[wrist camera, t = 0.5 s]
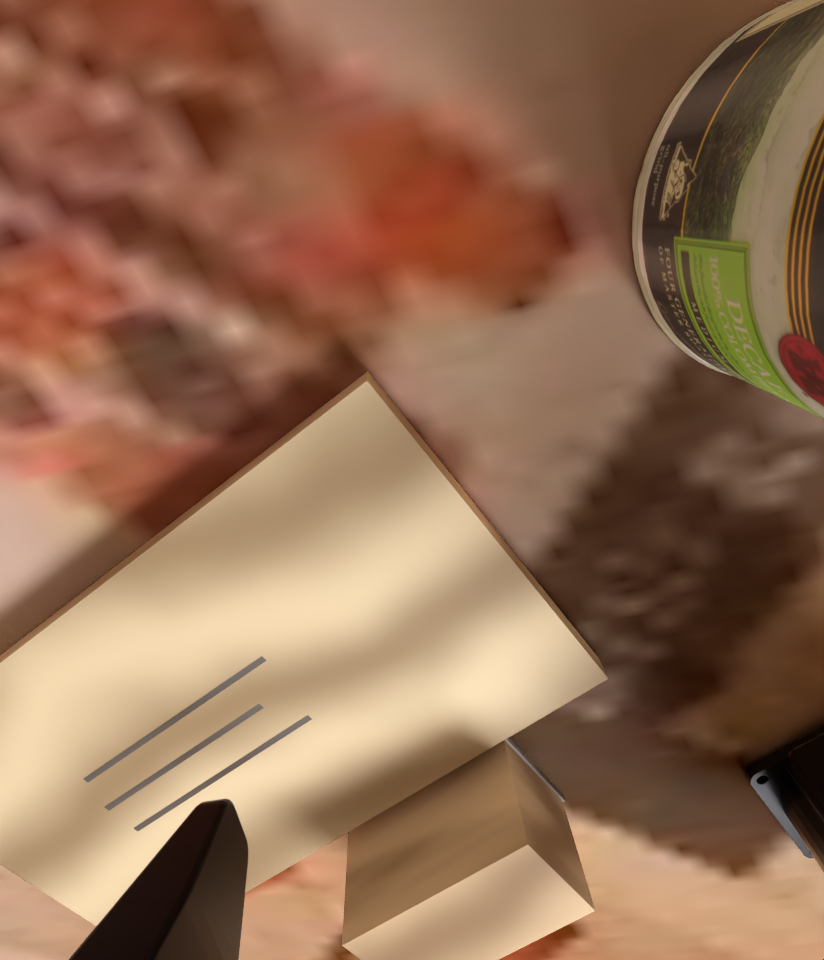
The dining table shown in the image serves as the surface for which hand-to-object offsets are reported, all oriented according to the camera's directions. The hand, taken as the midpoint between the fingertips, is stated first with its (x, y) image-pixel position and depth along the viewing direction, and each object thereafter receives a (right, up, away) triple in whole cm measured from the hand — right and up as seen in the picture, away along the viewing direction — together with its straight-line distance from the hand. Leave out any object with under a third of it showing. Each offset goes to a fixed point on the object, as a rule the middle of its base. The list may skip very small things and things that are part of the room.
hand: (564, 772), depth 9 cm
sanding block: (0, -10, +19) cm, 22 cm away
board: (-9, -5, +16) cm, 19 cm away
